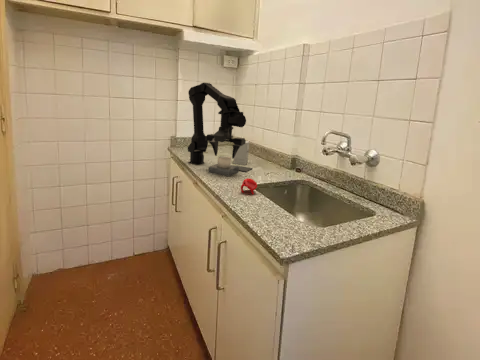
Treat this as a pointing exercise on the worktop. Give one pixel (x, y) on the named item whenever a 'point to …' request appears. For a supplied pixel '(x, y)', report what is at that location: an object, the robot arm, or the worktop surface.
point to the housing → (223, 170)
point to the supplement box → (242, 154)
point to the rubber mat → (244, 169)
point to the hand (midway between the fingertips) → (224, 157)
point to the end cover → (224, 162)
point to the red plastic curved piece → (249, 185)
